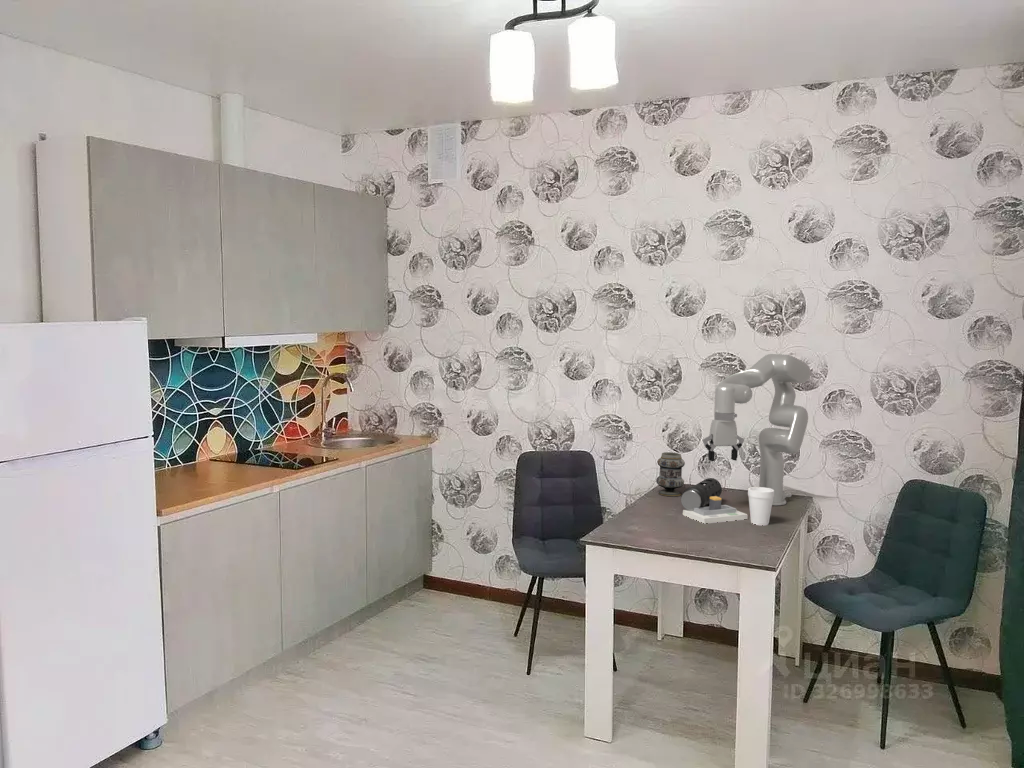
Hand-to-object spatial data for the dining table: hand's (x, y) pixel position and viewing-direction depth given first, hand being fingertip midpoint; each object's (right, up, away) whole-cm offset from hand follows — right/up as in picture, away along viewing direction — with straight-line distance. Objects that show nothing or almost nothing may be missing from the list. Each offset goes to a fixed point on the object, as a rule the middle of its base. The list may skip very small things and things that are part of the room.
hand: (722, 460), depth 314 cm
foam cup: (+11, -23, -10) cm, 28 cm away
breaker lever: (-4, -20, -2) cm, 20 cm away
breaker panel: (-4, -22, -2) cm, 22 cm away
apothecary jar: (-13, -19, +38) cm, 44 cm away
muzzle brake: (-6, -21, +12) cm, 24 cm away
